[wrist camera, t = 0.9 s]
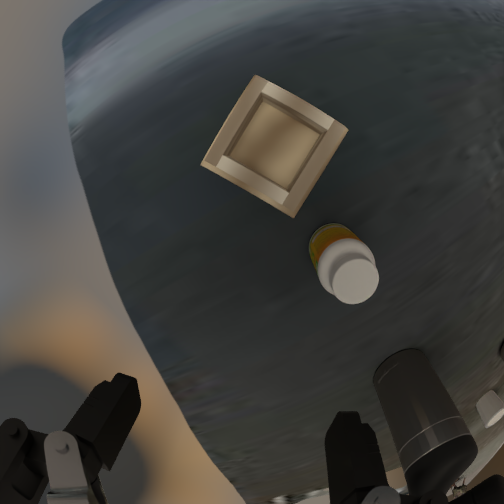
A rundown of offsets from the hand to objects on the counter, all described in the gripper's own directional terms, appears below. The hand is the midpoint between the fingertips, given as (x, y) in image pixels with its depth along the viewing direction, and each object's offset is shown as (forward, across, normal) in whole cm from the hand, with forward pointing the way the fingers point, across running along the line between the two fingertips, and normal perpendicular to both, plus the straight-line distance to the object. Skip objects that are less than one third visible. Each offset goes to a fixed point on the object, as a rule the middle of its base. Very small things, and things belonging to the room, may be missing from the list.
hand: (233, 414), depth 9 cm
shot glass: (+24, -57, +28) cm, 68 cm away
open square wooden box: (+22, 0, -11) cm, 25 cm away
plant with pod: (+26, -95, +89) cm, 133 cm away
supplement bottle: (+22, -8, -2) cm, 24 cm away
